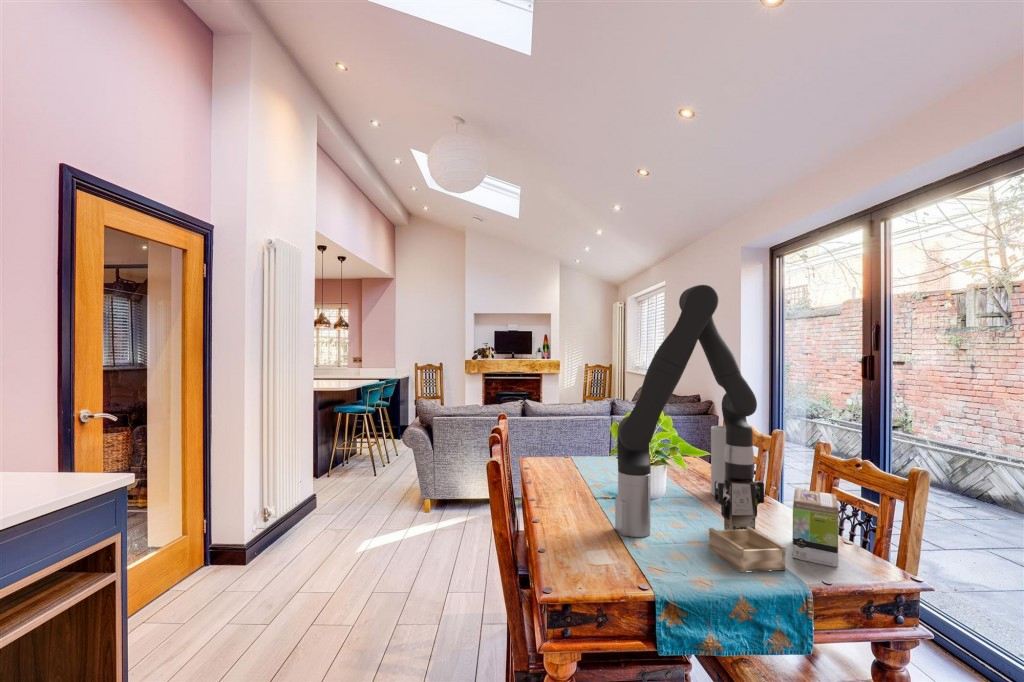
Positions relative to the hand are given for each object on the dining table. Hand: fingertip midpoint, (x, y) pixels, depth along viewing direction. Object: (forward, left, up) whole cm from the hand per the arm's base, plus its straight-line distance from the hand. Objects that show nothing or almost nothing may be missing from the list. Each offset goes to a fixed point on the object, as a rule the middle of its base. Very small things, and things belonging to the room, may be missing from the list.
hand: (739, 518), depth 137 cm
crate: (-8, -15, -5) cm, 18 cm away
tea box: (+13, -13, -5) cm, 19 cm away
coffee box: (0, 0, -5) cm, 5 cm away
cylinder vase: (+20, +37, -5) cm, 42 cm away
